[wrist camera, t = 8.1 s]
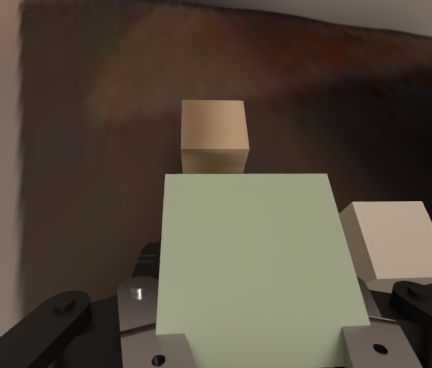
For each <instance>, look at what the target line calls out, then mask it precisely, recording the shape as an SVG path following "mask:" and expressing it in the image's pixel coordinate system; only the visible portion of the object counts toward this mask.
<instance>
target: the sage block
mask: <svg viewBox="0 0 432 368" xmlns="http://www.w3.org/2000/svg"><path fill="white" fill-rule="evenodd" d="M363 325H371V324H370V321H369V318H368V314H367V311H366V307H365V304H364V300H363V297H362V293H361V290H360V286H359V283H358V280H357V276H356V273H355V269H354V266H353V262H352V259H351V255H350V252H349V248H348V245H347V242H346V238H345V235H344V231H343V228H342V224H341V221H340V217H339V214H338V210H337V207H336V204H335V200H334V197H333V193H332V190H331V186H330V183H329V179H328V176H327V174H165V188H164V205H163V221H162V238H161V254H160V271H159V287H158V304H157V320H156V335H161V334H185V336H186V339H187V342H188V345H189V347H190V350H191V353H192V355H193V358H194V361H195V364H196V366H197V368H325V367H343V366H344V356H343V336H342V326H363Z"/></svg>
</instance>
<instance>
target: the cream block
mask: <svg viewBox="0 0 432 368" xmlns="http://www.w3.org/2000/svg"><path fill="white" fill-rule="evenodd" d="M339 217H340V221H341V224H342V228H343V231H344V235H345V238H346V242H347V245H348V248H349V252H350V255H351V259H352V262H353V266H354V269H355V273H356V276H358V277H359V278H361V279H362V280H363V281H364V282H365V283H366V285H367V287H368V289H369V290H374V291H380V292H387V293H392V288H393V284H394V283H395V282H398V281H411V282H416V283H419V284H422V285H427V284H431V283H432V222H431V220H430V218H429V215H428V213H427V211H426V209H425V207H424V205H423V203H422V201H410V202H352V203H351V204H349V205H348V206H347V207H346V208H345V209H344V210H343V211H342V212H341V213H340V214H339Z"/></svg>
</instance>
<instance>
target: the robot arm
mask: <svg viewBox="0 0 432 368" xmlns="http://www.w3.org/2000/svg"><path fill="white" fill-rule="evenodd" d="M161 238H162V234H161V237H160V241H159V243H149V244H148V245H146V246H145V247H144V248H143V249H142V252H141V254H140V257H139V259H138V262H137V265H136V267H135V270H134V272H133V275H132V278H131V279H129V280H127V281H125V282H124V283H122V284H121V285H120V286H119V288H118V290H117V295H115V296H113V297H111V298H107V299H104V300H100V301H95V302H91V303H90V298H89V296H88V294H86V293H85V292H82V291H67V292H63V293H60V294H57V295H55V296H53V297H51V298H49V299H47V300H46V301H45V302H43V303H42V304H41V305H40V306H38V307H37V308H36V309H35V310H33V311H32V312H31V313H30V314H28V315H27V316H26V317H25V318H23V319H22V320H21V321H20V322H19V323H17V324H16V325H15V326H14V327H12V328H11V329H10V330H9V331H8V332H6V333H5V334H4V335H3V336H1V337H0V368H197V366H196V364H195V361H194V358H193V355H192V353H191V350H190V347H189V345H188V342H187V339H186V336H185V334H161V335H156V320H157V304H158V287H159V271H160V254H161ZM357 280H358V283H359V286H360V290H361V293H362V297H363V300H364V304H365V307H366V311H367V314H368V318H369V321H370V324H371V325H363V326H342V336H343V356H344V366H343V367H325V368H432V289H431V288H429V287H427V286H425V285H422V284H419V283H416V282H411V281H398V282H395V283H394V284H393V288H392V293H387V292H380V291H374V290H369V289H368V287H367V285H366V283H365V282H364V281H363V280H362V279H361V278H359V277H358V276H357Z"/></svg>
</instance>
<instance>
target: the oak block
mask: <svg viewBox="0 0 432 368" xmlns="http://www.w3.org/2000/svg"><path fill="white" fill-rule="evenodd" d="M248 152H249V143H248V135H247V127H246V119H245V111H244V104H243V101H221V100H182V128H181V157H182V170H183V174H243V171H244V167H245V163H246V160H247V156H248Z"/></svg>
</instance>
